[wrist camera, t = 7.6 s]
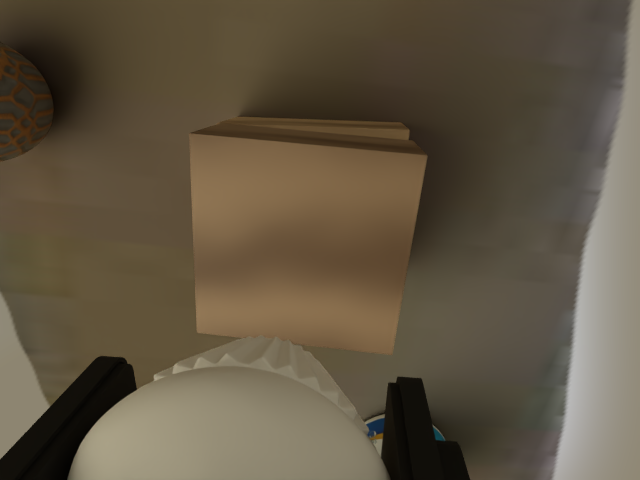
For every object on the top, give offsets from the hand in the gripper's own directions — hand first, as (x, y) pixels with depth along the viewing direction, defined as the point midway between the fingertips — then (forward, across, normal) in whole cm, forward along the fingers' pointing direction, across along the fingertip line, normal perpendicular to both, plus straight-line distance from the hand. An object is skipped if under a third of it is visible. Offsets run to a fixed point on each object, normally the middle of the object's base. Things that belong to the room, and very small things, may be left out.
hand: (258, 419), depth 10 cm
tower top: (+14, 0, 0) cm, 14 cm away
